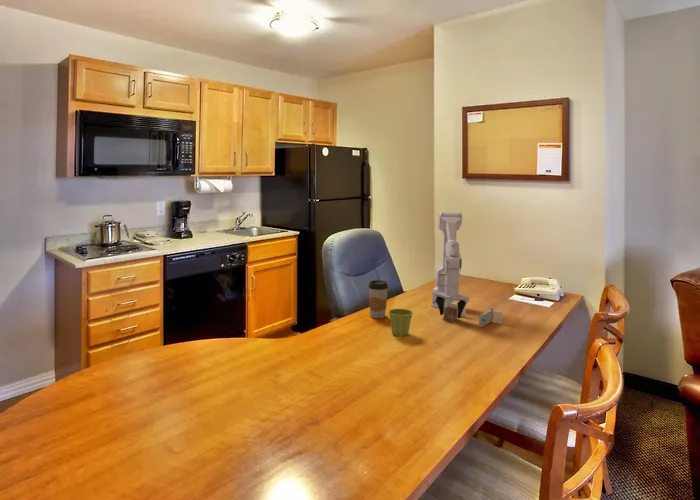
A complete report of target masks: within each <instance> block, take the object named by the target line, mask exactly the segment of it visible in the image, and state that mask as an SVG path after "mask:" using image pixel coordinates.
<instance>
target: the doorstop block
mask: <svg viewBox="0 0 700 500" xmlns="http://www.w3.org/2000/svg"><path fill="white" fill-rule="evenodd" d="M457 319H458V318H457V308H456V307H450V306H448V307H446V308H444V313H443V321H447V322H451V323H453V322H455V321H456V320H457Z"/></svg>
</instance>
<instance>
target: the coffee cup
mask: <svg viewBox="0 0 700 500" xmlns="http://www.w3.org/2000/svg"><path fill="white" fill-rule="evenodd" d="M388 289H389V284H388V282H387V281H385V280H379V279H377V280H375V279H374V280H371V281H369V283H368V295H369V296H368V297H369V298H368V299H369V300H368V301H369V315H370V317H371V318H372V319H383V318H384V317H385V316H386V309H387V304H388V303H387V301H388Z"/></svg>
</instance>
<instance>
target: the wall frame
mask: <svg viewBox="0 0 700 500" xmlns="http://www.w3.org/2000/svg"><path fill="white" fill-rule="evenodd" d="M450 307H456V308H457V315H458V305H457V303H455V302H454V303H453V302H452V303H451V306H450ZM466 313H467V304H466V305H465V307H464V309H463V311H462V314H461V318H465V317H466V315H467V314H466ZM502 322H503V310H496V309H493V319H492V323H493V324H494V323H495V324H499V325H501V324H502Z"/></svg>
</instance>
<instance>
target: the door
mask: <svg viewBox="0 0 700 500" xmlns="http://www.w3.org/2000/svg"><path fill="white" fill-rule="evenodd" d="M493 313H494V308H490V309H489V310H487V311H485V312H483V313H481V314H479V315H478V327H479V328H483V327H485V326H486V325H488V324H490V323H491V322H492V323H493Z"/></svg>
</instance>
